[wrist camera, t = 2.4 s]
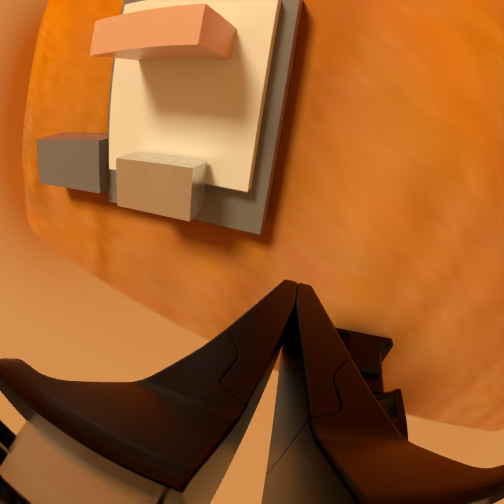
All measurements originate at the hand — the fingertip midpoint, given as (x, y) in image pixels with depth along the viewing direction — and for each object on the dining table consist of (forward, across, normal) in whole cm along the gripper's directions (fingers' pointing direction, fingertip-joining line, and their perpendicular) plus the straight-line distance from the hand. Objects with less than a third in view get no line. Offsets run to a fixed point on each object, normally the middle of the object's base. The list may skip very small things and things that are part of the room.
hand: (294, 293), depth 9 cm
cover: (+9, +9, -6) cm, 14 cm away
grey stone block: (+8, +9, 0) cm, 12 cm away
